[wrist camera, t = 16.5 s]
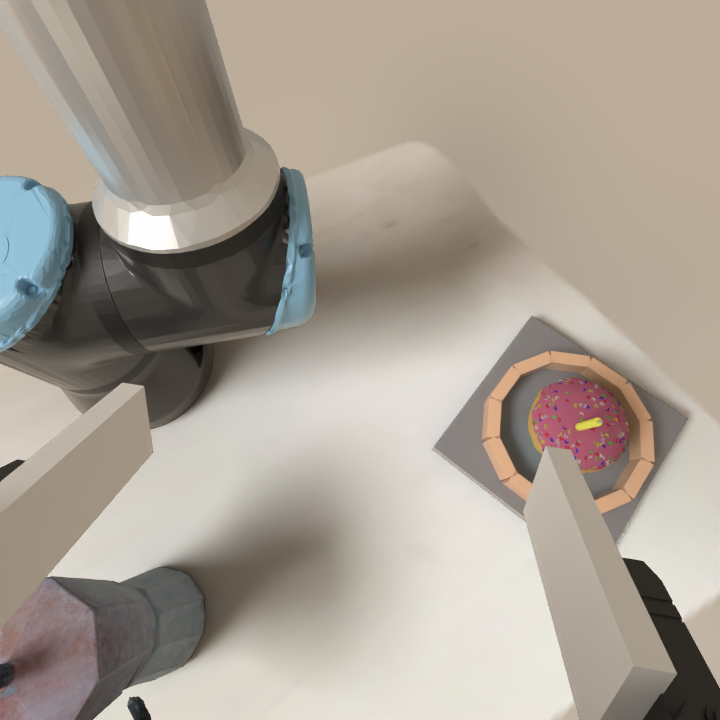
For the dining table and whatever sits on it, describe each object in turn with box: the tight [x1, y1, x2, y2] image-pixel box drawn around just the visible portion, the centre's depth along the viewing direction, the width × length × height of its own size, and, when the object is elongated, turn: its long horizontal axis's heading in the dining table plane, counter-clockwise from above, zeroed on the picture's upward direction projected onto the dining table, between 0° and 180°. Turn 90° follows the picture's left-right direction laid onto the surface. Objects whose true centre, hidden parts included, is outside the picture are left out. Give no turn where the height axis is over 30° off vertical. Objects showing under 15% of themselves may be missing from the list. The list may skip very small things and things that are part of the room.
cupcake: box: [528, 378, 630, 473], centre depth 39 cm, size 9×8×12 cm
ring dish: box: [432, 316, 688, 542], centre depth 45 cm, size 18×18×4 cm
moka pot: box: [0, 567, 205, 720], centre depth 32 cm, size 10×15×20 cm, turn 44°
